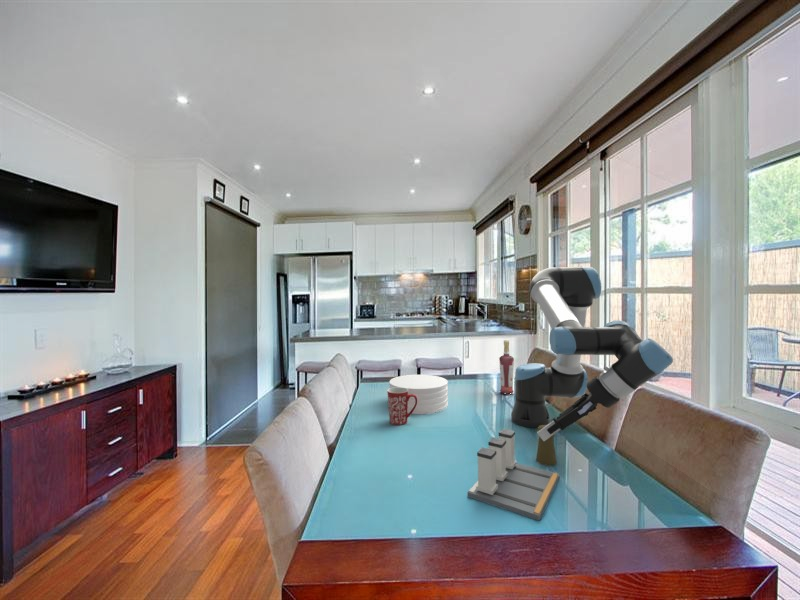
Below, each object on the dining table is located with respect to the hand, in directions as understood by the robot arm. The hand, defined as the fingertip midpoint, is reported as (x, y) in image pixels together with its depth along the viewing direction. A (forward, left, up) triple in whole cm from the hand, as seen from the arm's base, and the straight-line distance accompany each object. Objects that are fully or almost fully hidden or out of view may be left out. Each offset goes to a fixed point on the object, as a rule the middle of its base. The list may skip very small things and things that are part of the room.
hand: (541, 436), depth 101 cm
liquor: (-32, -83, -12) cm, 89 cm away
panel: (+9, +2, -12) cm, 16 cm away
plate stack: (+18, -75, -13) cm, 78 cm away
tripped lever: (+7, -7, -10) cm, 14 cm away
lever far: (+19, +5, -10) cm, 22 cm away
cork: (-8, -10, -12) cm, 17 cm away
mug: (+30, -53, -12) cm, 62 cm away
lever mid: (+13, -1, -10) cm, 17 cm away
